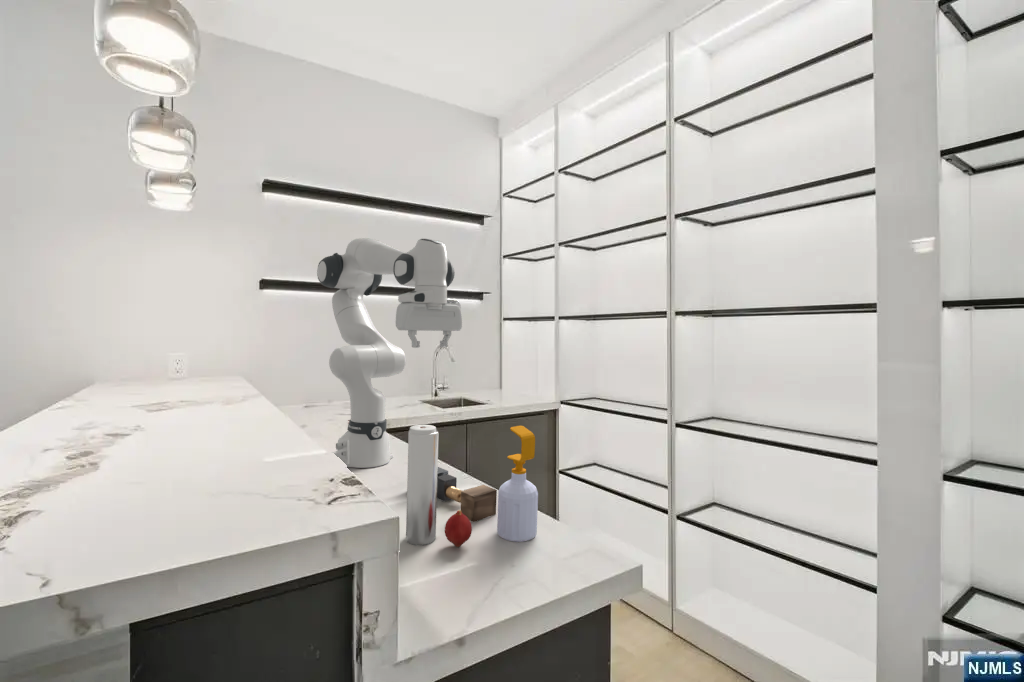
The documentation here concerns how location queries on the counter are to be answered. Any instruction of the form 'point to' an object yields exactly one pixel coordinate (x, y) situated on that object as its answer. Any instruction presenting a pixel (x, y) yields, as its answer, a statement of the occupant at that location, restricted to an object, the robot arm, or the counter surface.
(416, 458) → the silver metal cylinder
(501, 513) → the soap bottle
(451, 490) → the hammer
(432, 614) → the counter surface
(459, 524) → the onion
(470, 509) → the socket
